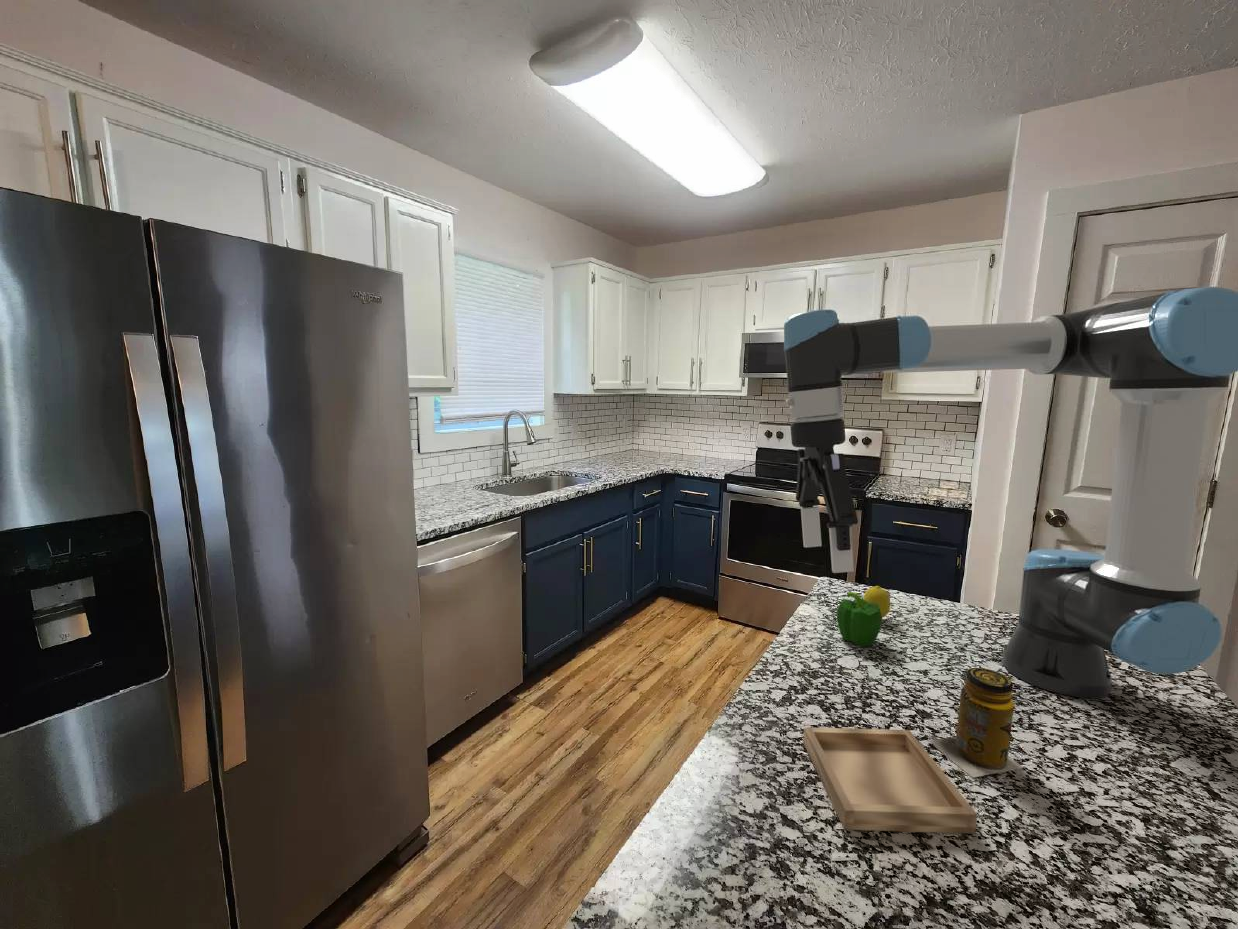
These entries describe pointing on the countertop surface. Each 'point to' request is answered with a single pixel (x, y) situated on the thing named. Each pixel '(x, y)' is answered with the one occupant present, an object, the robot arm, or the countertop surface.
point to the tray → (886, 782)
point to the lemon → (878, 599)
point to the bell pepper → (859, 620)
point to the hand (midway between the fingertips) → (826, 558)
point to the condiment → (982, 725)
